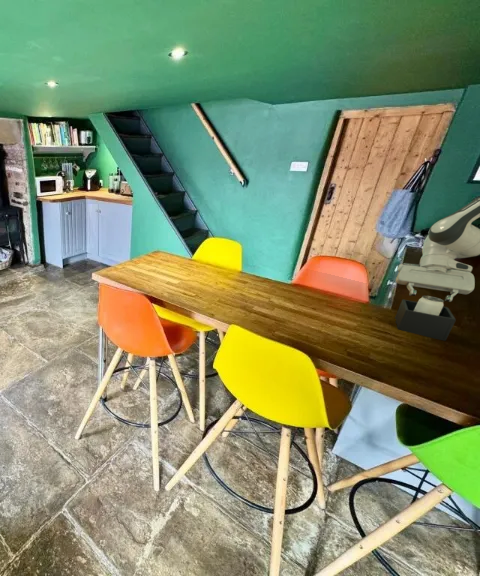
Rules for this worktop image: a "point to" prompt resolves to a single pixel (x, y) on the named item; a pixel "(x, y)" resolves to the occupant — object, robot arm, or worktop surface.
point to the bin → (424, 321)
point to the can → (429, 305)
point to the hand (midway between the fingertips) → (430, 297)
